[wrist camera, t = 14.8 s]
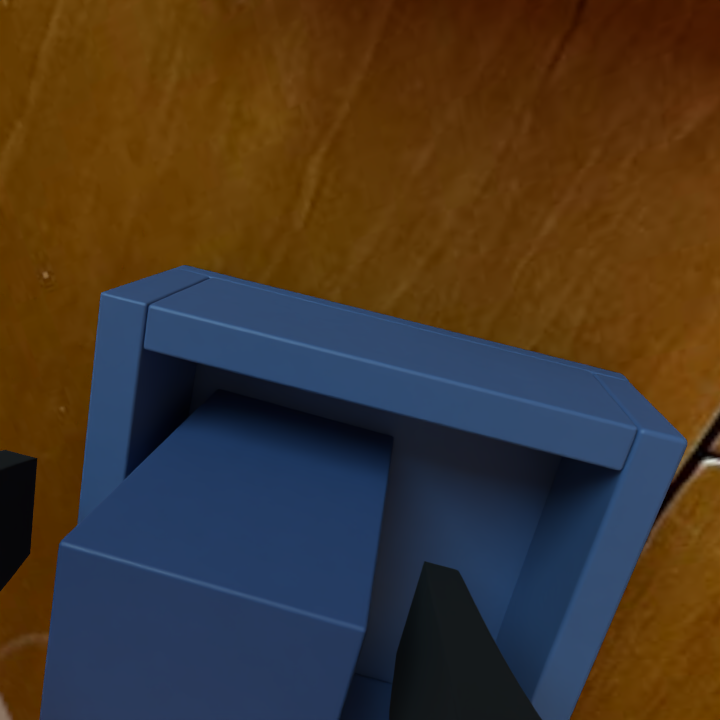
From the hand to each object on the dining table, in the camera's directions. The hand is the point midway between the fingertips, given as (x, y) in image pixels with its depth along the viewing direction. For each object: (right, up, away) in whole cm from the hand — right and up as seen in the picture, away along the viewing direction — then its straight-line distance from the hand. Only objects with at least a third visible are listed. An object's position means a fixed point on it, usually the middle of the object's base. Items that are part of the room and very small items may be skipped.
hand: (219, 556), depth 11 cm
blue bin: (+2, 0, +3) cm, 4 cm away
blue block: (+1, +1, +3) cm, 3 cm away
